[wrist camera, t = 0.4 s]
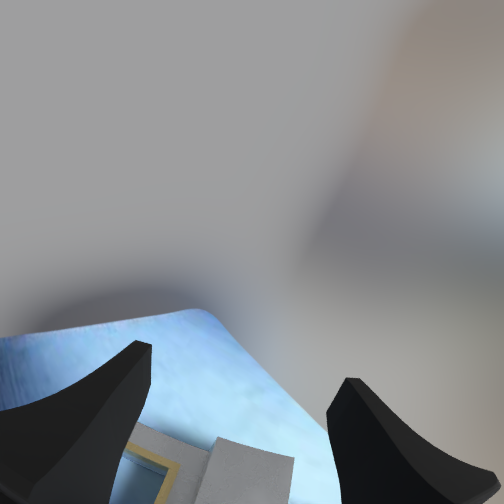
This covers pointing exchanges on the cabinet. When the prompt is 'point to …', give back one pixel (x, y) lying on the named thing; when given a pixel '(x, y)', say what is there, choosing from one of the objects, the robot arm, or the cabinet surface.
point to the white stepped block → (211, 470)
